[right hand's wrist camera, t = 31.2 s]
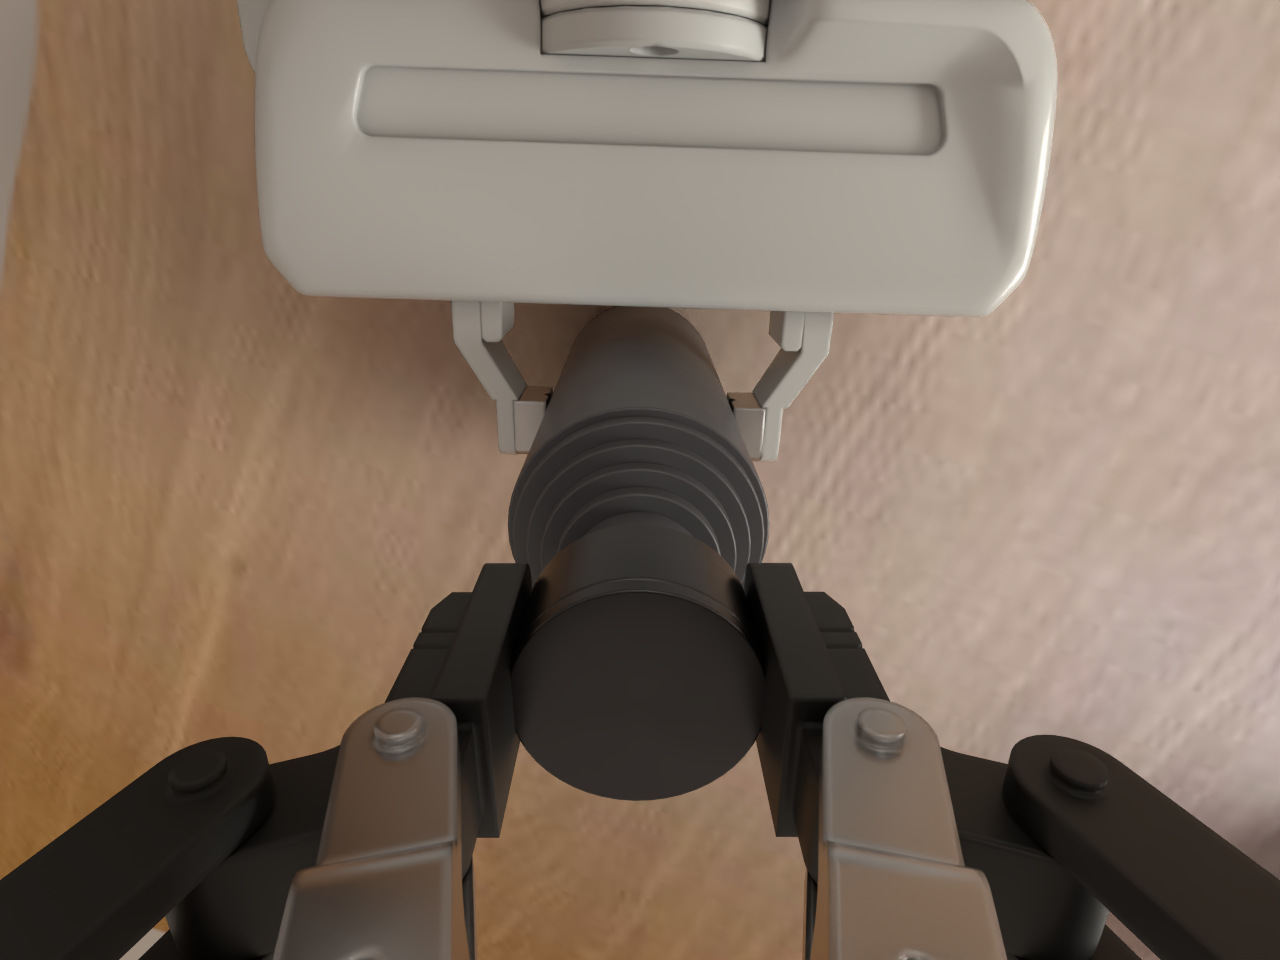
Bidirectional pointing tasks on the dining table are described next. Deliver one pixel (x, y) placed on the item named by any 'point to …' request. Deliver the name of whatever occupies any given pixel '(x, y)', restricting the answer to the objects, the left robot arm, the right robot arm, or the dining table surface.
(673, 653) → the cap
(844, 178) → the left robot arm
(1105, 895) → the right robot arm
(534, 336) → the dining table surface
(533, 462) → the bottle
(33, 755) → the dining table surface
